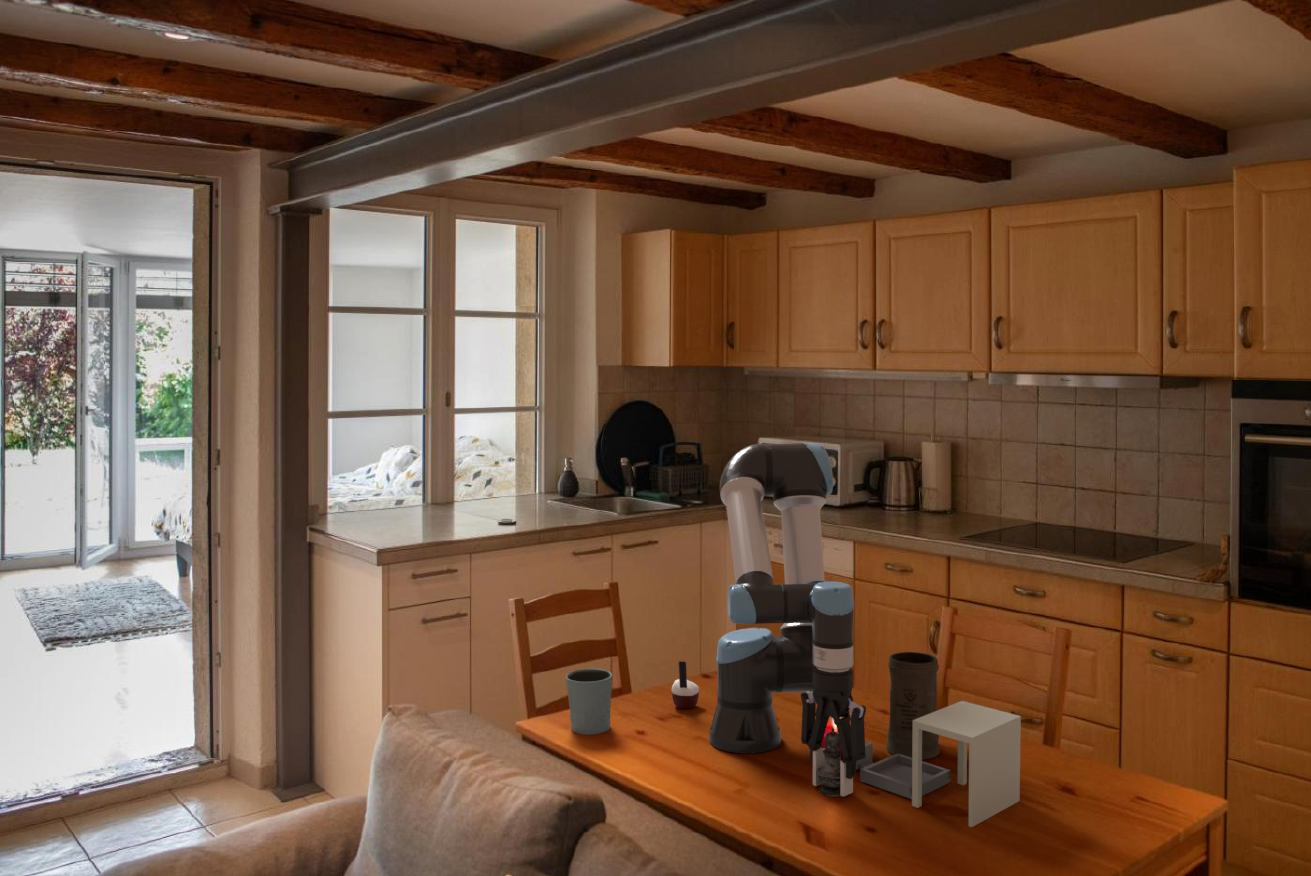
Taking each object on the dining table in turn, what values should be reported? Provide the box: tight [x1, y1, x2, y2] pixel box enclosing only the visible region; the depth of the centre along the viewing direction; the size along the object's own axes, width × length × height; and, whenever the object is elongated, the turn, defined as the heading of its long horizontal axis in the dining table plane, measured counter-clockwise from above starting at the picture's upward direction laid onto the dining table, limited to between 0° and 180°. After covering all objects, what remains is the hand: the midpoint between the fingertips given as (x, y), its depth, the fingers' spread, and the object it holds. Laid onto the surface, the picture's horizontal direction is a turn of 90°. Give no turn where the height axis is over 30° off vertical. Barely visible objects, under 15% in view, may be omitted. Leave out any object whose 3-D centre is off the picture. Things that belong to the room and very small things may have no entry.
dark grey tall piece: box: [817, 727, 843, 797], centre depth 194 cm, size 6×6×12 cm
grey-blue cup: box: [565, 668, 613, 736], centre depth 229 cm, size 10×10×12 cm
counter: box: [911, 700, 1022, 828], centre depth 187 cm, size 12×16×16 cm
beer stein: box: [885, 651, 941, 760], centre depth 215 cm, size 15×11×20 cm
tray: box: [856, 741, 952, 800], centre depth 199 cm, size 17×12×4 cm
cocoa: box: [671, 660, 700, 710], centre depth 242 cm, size 10×6×12 cm, turn 149°
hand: (832, 788), depth 194 cm, fingers closed on dark grey tall piece, 6 cm apart
